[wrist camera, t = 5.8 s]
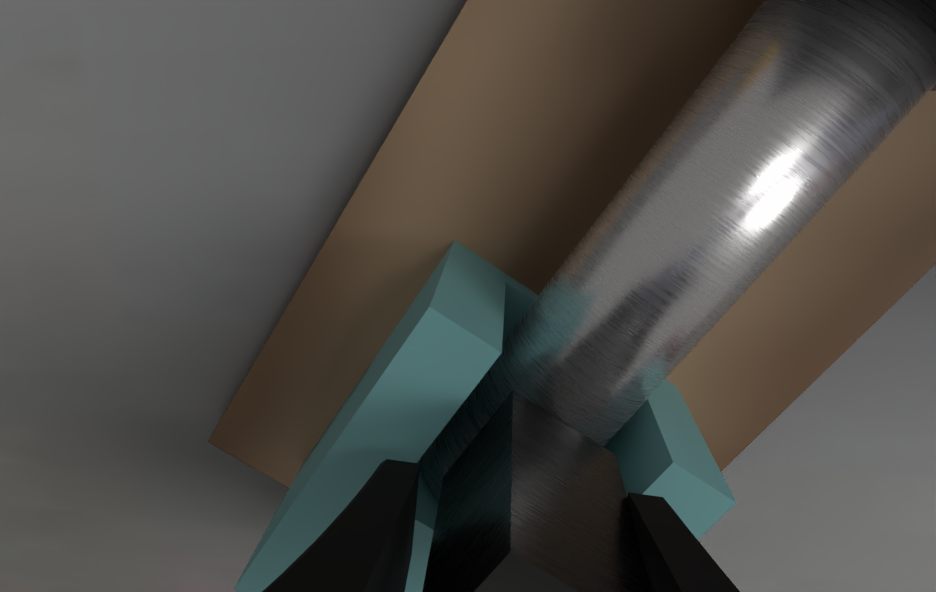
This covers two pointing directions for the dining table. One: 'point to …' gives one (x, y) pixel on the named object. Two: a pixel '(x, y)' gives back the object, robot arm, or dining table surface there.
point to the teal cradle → (440, 396)
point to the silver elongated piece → (661, 291)
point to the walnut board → (576, 217)
